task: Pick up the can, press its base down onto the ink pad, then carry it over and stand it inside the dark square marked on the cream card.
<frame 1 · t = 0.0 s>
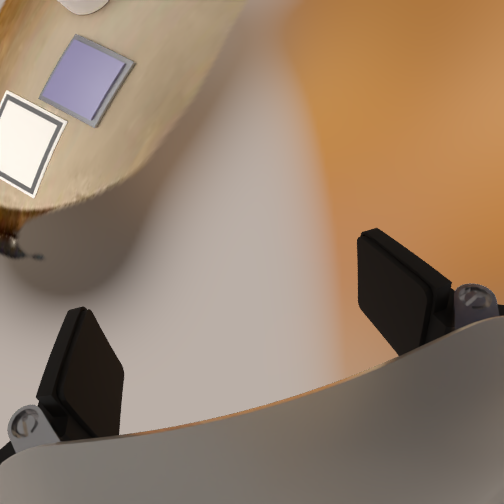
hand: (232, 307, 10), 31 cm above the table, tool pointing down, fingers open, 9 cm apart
ink pad: (86, 80, 31), on the table
marked card: (18, 143, 31), on the table
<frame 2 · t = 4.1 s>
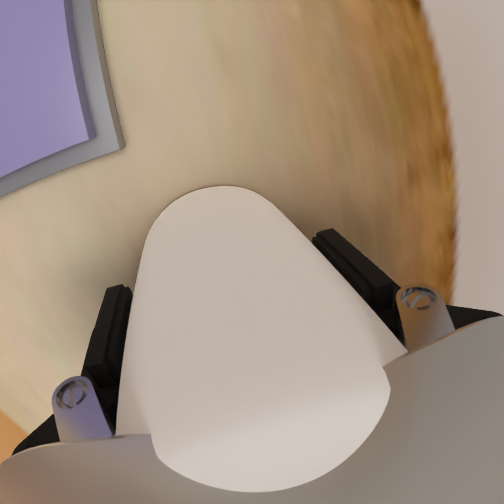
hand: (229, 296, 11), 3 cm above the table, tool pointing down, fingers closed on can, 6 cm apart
can: (218, 255, 14), on the table, touching gripper
ink pad: (5, 83, 9), on the table
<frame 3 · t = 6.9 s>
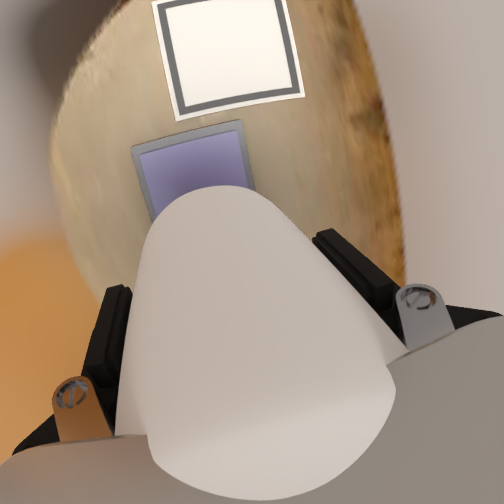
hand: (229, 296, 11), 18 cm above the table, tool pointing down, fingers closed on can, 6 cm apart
can: (218, 254, 14), point 14 cm above the table, touching gripper
ink pad: (197, 182, 27), on the table
marked card: (229, 45, 22), on the table
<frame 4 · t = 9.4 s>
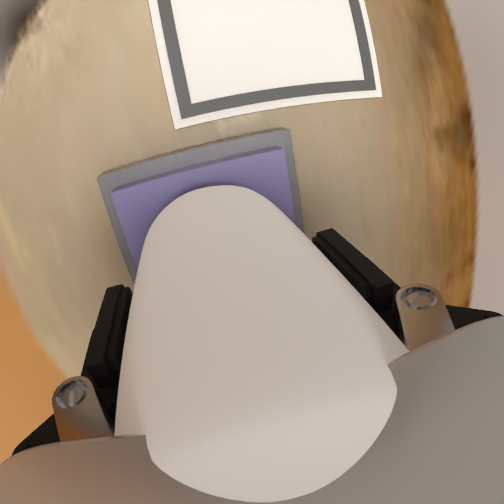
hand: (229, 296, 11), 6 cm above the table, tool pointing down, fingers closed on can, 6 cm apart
can: (218, 254, 14), point 3 cm above the table, touching gripper
ink pad: (211, 232, 17), on the table
marked card: (266, 5, 12), on the table
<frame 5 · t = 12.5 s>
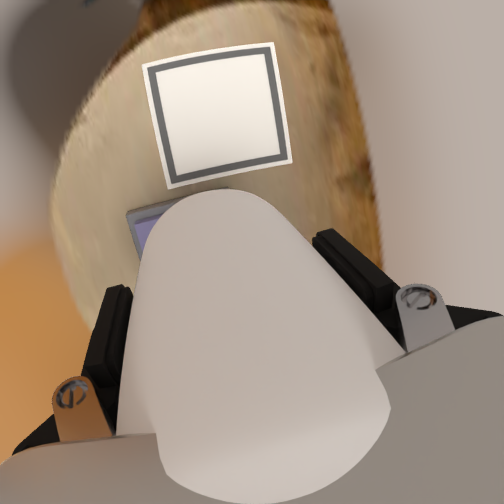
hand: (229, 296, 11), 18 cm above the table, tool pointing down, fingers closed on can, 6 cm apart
can: (219, 259, 14), point 15 cm above the table, touching gripper
ink pad: (188, 245, 29), on the table
marked card: (219, 112, 25), on the table
when the fingers open (4 cm above the table, at t = 15.1 s): can stays where it is, resting on marked card.
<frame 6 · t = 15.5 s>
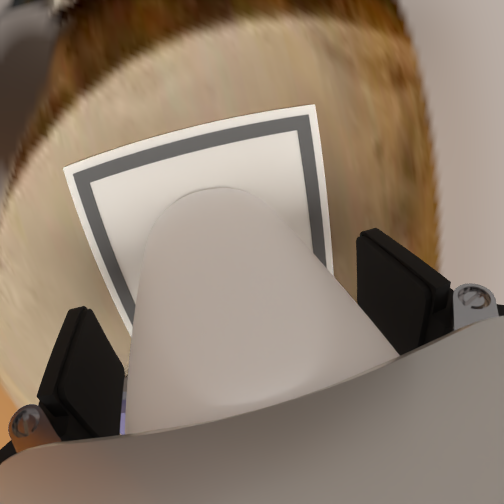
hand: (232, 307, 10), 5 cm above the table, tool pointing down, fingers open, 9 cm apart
can: (216, 253, 15), resting on marked card
marked card: (215, 247, 15), on the table
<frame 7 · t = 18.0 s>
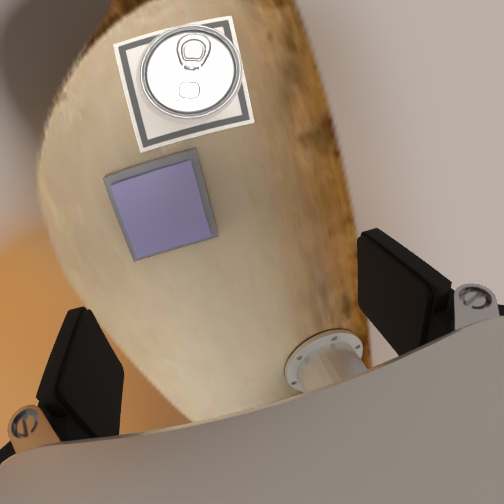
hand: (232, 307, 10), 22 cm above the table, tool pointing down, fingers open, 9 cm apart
can: (184, 83, 26), resting on marked card
ink pad: (162, 204, 31), on the table
marked card: (184, 80, 26), on the table
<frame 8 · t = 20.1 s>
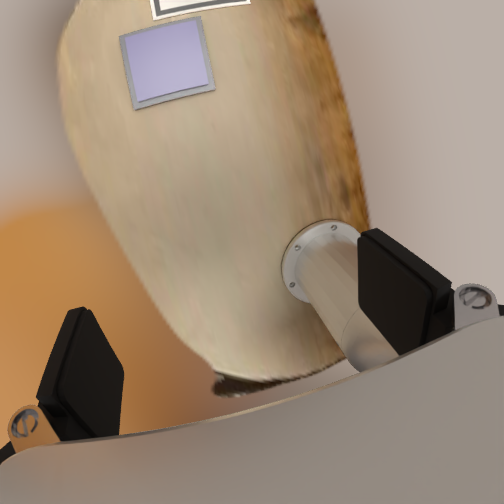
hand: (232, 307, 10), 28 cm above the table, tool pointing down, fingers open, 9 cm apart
ink pad: (166, 62, 30), on the table
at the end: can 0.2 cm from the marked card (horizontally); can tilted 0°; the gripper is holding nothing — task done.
